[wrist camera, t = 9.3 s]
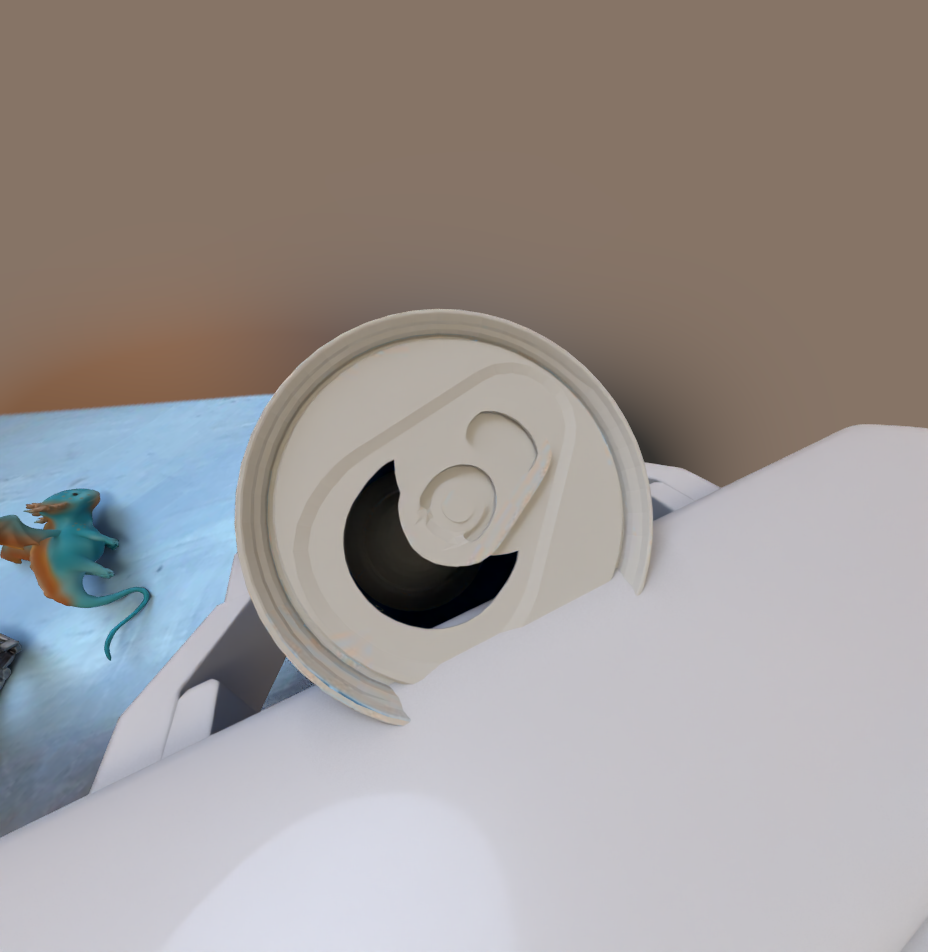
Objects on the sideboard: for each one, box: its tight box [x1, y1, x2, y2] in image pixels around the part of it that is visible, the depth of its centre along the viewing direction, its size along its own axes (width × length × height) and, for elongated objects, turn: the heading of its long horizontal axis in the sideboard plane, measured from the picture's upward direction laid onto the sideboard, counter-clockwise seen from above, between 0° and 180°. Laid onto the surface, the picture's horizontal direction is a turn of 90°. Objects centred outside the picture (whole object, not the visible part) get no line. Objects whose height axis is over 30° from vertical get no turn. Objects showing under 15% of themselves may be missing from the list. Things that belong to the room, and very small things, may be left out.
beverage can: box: [235, 309, 653, 726], centre depth 10 cm, size 6×6×12 cm
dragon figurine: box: [0, 489, 149, 661], centre depth 19 cm, size 6×7×8 cm
